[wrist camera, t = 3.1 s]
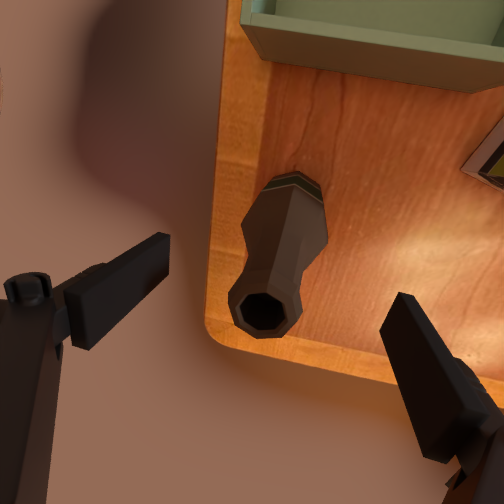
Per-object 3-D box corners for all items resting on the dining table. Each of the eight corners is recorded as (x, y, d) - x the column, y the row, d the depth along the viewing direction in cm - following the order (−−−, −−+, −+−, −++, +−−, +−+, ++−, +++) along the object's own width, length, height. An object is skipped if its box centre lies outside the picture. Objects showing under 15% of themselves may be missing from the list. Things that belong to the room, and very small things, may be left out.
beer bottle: (258, 222, 36) (179, 353, 14) (268, 163, 32) (186, 217, 11) (314, 234, 35) (322, 394, 13) (331, 175, 31) (377, 259, 10)
